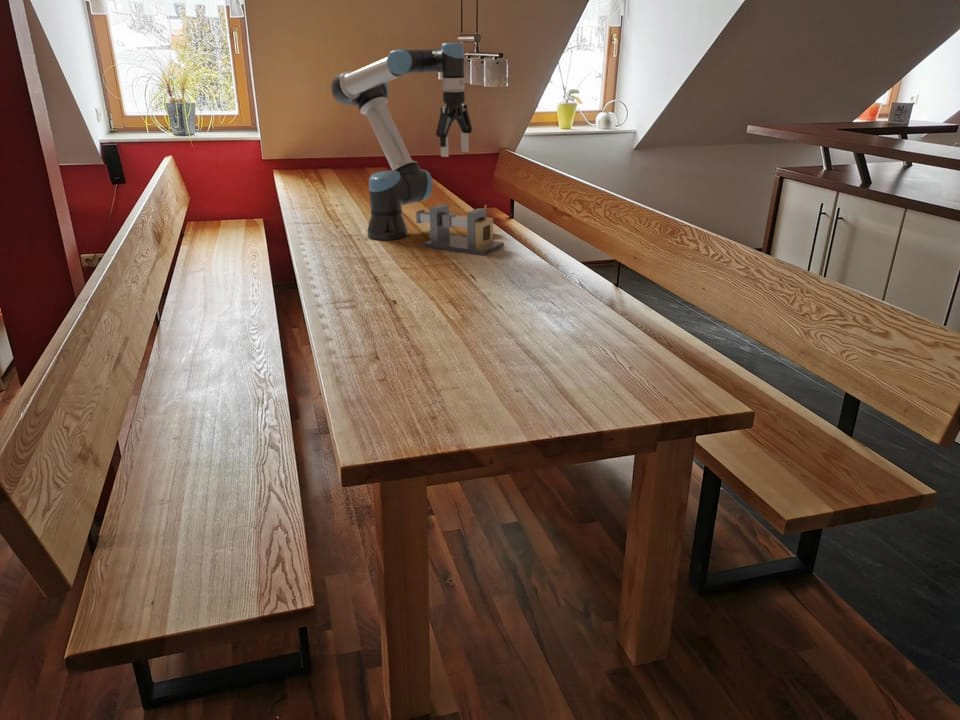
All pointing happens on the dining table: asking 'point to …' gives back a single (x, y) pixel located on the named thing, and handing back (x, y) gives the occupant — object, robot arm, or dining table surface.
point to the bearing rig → (455, 243)
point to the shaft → (443, 219)
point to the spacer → (479, 232)
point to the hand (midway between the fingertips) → (455, 154)
